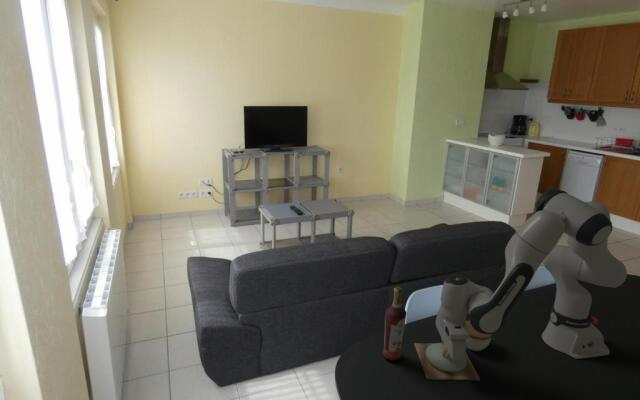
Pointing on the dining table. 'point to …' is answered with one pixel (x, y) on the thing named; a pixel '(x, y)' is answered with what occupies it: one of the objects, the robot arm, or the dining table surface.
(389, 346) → the liquor
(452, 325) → the robot arm
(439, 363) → the lid
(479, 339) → the lidded jar
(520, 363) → the dining table surface
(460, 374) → the plate
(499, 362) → the dining table surface
